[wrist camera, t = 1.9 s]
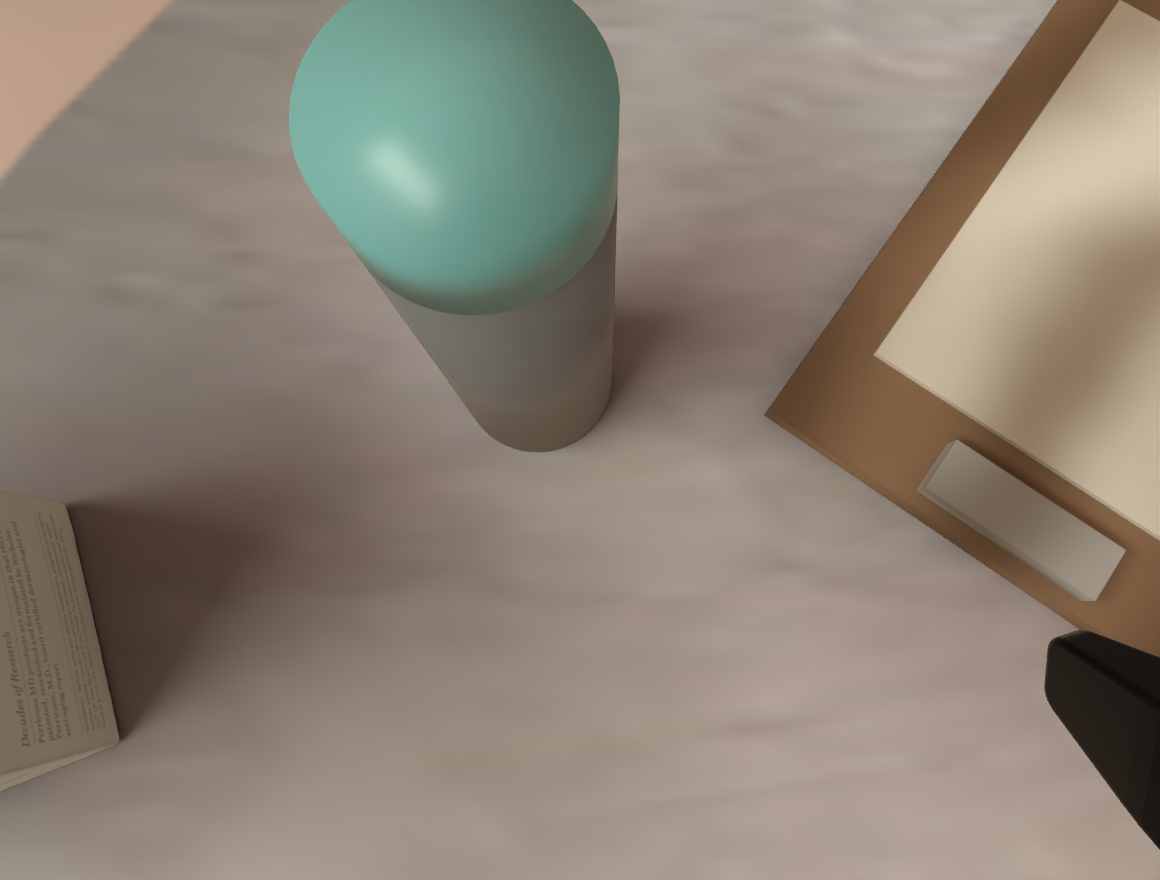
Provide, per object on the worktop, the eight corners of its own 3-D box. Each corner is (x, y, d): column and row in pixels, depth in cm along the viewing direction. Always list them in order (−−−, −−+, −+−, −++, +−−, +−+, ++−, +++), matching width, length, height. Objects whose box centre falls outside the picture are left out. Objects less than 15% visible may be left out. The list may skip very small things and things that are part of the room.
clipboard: (1495, 206, 23) (1551, 181, 22) (1209, 716, 20) (1252, 724, 19) (1072, -22, 25) (1099, -57, 24) (764, 414, 22) (774, 402, 21)
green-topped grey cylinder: (641, 363, 23) (685, 66, 10) (553, 481, 22) (482, 323, 10) (524, 282, 24) (427, -91, 11) (434, 395, 23) (221, 139, 10)
